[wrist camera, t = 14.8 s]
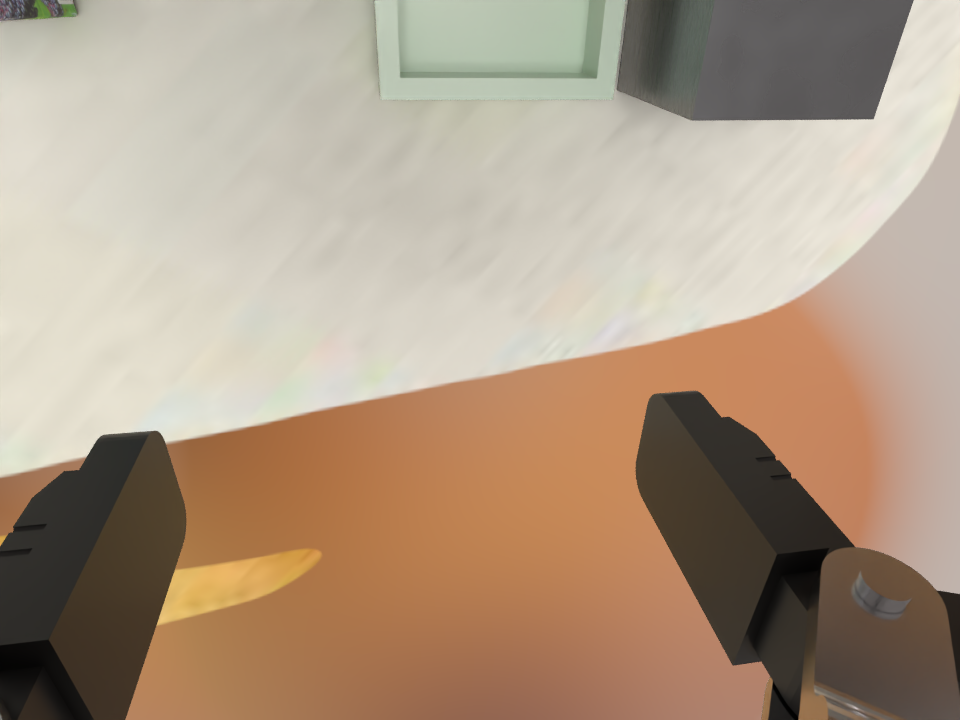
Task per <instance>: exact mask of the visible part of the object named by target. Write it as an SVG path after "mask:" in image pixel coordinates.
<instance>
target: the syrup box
mask: <svg viewBox="0 0 960 720" xmlns="http://www.w3.org/2000/svg"><path fill="white" fill-rule="evenodd" d="M76 15H77V12H76V9H75V6H74V3H73V0H0V22H3V21H19V20H32V19H46V18H58V17H74V16H76Z"/></svg>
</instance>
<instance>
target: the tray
mask: <svg viewBox="0 0 960 720" xmlns="http://www.w3.org/2000/svg"><path fill="white" fill-rule="evenodd" d="M625 1H626V0H374V8H375V25H376V41H377V58H378V75H379V91H380V98H381V100H613V96H614V88H615V80H616V72H617V64H618V56H619V49H620V41H621V33H622V25H623V17H624V9H625Z"/></svg>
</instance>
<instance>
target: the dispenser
mask: <svg viewBox="0 0 960 720" xmlns="http://www.w3.org/2000/svg"><path fill="white" fill-rule="evenodd" d="M912 3H913V0H629V1H628V9H627V17H626V25H625V33H624V41H623V48H622V56H621V64H620V72H619V80H618V88H617V90H618V91H620V92H623V93H625V94H628V95H630V96H633V97H635V98H638V99H640V100H643V101H645V102H648V103H650V104H653V105H655V106H657V107H660V108H662V109H665V110H667V111H670V112H672V113H675V114H677V115H680V116H682V117H685V118H687V119H690V120H831V119H874V116H875V113H876V110H877V107H878V104H879V101H880V98H881V95H882V92H883V89H884V87H885V84H886V81H887V78H888V75H889V72H890V69H891V66H892V63H893V60H894V57H895V54H896V51H897V48H898V45H899V42H900V39H901V36H902V33H903V30H904V27H905V24H906V21H907V18H908V15H909V12H910V9H911V6H912Z"/></svg>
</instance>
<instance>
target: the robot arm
mask: <svg viewBox="0 0 960 720" xmlns="http://www.w3.org/2000/svg"><path fill="white" fill-rule="evenodd" d="M636 479H637V485H638V489H639V492H640V494H641V497H642V499H643V501H644V502H645V504H646V506H647V508H648V510H649V512H650V514H651V515H652V517H653V519H654V521H655V523H656V525H657V526H658V528H659V530H660V532H661V534H662V536H663V537H664V539H665V541H666V543H667V545H668V547H669V549H670V550H671V552H672V554H673V556H674V558H675V560H676V562H677V563H678V565H679V567H680V569H681V571H682V573H683V575H684V576H685V578H686V580H687V582H688V584H689V586H690V587H691V589H692V591H693V593H694V595H695V597H696V599H697V600H698V602H699V604H700V606H701V608H702V610H703V611H704V613H705V615H706V617H707V619H708V621H709V623H710V624H711V626H712V628H713V630H714V632H715V634H716V635H717V637H718V639H719V641H720V643H721V645H722V647H723V648H724V650H725V652H726V654H727V656H728V658H729V659H730V661H731V663H732V665H740V664H747V663H753V662H760V661H762V663H763V665H764V666H765V668H766V670H767V671H768V673H769V675H770V678H769V680H768V682H767V685H766V689H765V694H764V702H763V710H762V717H761V720H960V594H955V593H949V592H943V591H937V590H936V589H935V588H934V587H933V586H932V585H931V584H930V583H929V582H928V581H927V580H926V579H925V578H924V577H923V576H922V575H921V574H919V573H918V572H917V571H915V570H914V569H912V568H911V567H910V566H908V565H906V564H904V563H903V562H901V561H899V560H897V559H895V558H893V557H891V556H889V555H886V554H884V553H881V552H878V551H874V550H871V549H865V548H856V547H855V546H854V545H853V544H852V543H851V542H850V541H849V539H848V538H847V537H846V536H845V535H844V534H843V532H842V531H841V530H840V529H839V528H838V527H837V526H836V524H834V522H833V521H832V520H831V519H830V518H829V516H828V515H827V514H826V513H825V512H824V511H823V510H822V509H821V508H820V506H819V505H818V504H817V503H816V502H815V501H814V499H813V498H812V497H811V496H810V495H809V494H808V492H807V491H806V490H805V489H804V488H803V487H802V486H801V484H799V482H798V481H797V480H796V479H792V478H791V473H790V472H789V471H788V470H787V469H786V467H785V466H784V465H783V464H782V463H781V462H780V461H779V460H777V461H776V459H775V455H774V454H773V453H772V451H771V450H770V449H769V448H768V447H767V446H766V445H765V443H764V442H763V441H762V440H761V439H760V438H759V437H758V436H757V434H755V433H754V432H752V431H750V430H749V429H747V428H746V427H744V426H743V425H741V424H740V423H738V422H736V421H735V420H733V419H732V418H730V417H723V418H721V416H720V415H719V414H718V413H717V412H716V410H715V409H714V408H713V407H712V405H711V404H710V403H709V402H708V401H707V399H706V398H705V397H704V396H703V395H702V394H701V393H700V392H698V391H685V392H672V393H659V394H654V395H652V396H651V398H650V399H649V402H648V405H647V410H646V415H645V420H644V425H643V430H642V435H641V440H640V445H639V450H638V455H637V460H636ZM13 528H14V531H13V533H9V534H8V536H7V537H6V539H5V540H4V542H3V543H2V545H1V546H0V720H125V718H126V716H127V713H128V710H129V707H130V704H131V700H132V698H133V694H134V691H135V688H136V685H137V682H138V679H139V676H140V673H141V670H142V667H143V664H144V661H145V658H146V655H147V652H148V649H149V646H150V643H151V640H152V637H153V634H154V631H155V628H156V625H157V622H158V619H159V616H160V613H161V610H162V607H163V604H164V601H165V598H166V595H167V592H168V588H169V585H170V582H171V579H172V576H173V573H174V570H175V567H176V564H177V561H178V558H179V555H180V552H181V549H182V546H183V542H184V539H185V532H186V510H185V504H184V501H183V497H182V494H181V491H180V488H179V485H178V482H177V478H176V475H175V472H174V469H173V466H172V463H171V459H170V456H169V453H168V450H167V447H166V444H165V441H164V439H163V437H162V435H161V434H160V433H159V432H158V431H147V432H134V433H121V434H108V435H103V436H101V437H100V438H99V439H98V440H97V441H96V443H95V444H94V446H93V448H92V449H91V451H90V453H89V454H88V456H87V458H86V459H85V461H84V463H83V465H82V466H81V468H80V470H75V471H64V472H63V473H62V474H60V475H59V476H58V477H57V478H56V479H54V480H53V481H52V482H51V483H49V484H48V485H47V486H46V487H45V488H44V489H42V490H41V491H40V492H39V493H37V494H36V495H35V496H34V497H33V498H32V499H31V501H30V502H29V504H28V505H27V507H26V508H25V510H24V511H23V513H22V514H21V516H20V517H19V519H18V520H17V522H16V523H15V525H14V526H13Z"/></svg>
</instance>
